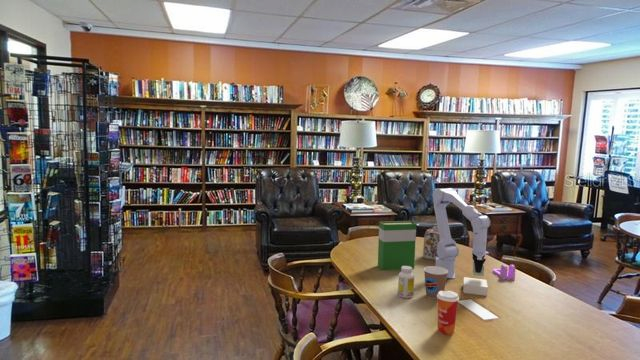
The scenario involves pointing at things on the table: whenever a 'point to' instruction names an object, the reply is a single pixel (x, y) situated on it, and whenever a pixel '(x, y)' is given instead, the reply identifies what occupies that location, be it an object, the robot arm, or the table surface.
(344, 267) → the table surface
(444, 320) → the paper cup
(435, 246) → the decorative jar
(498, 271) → the bracket
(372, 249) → the table surface
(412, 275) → the supplement bottle
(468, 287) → the painted block
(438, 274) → the coffee cup
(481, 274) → the green cube
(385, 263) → the green cereal box
